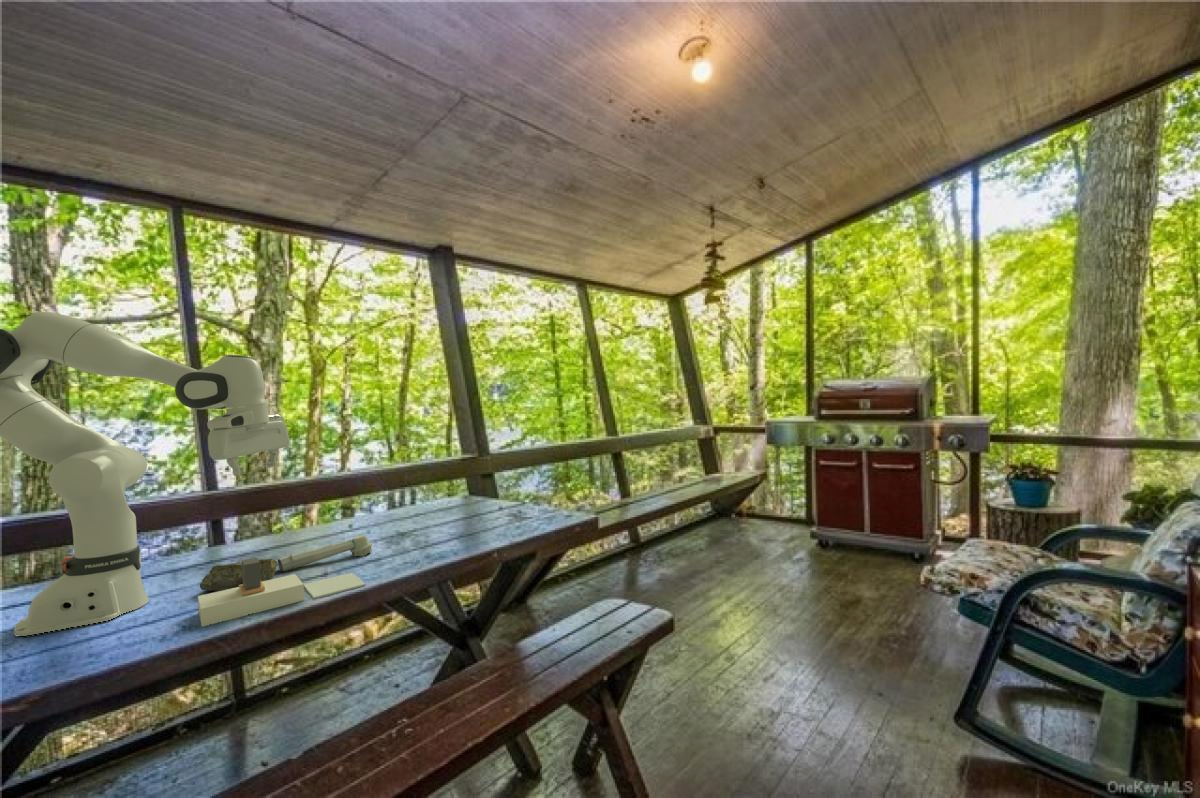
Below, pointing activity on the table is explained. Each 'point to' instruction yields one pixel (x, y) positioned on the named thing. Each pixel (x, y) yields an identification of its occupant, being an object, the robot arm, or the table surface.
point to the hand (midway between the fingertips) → (255, 470)
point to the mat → (333, 585)
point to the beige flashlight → (326, 553)
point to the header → (249, 600)
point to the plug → (251, 577)
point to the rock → (234, 575)
